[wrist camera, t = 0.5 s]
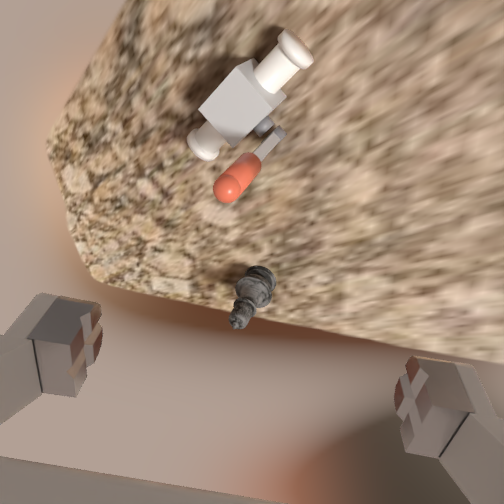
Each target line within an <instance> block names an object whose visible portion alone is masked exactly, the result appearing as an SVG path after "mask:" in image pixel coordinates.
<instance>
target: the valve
mask: <svg viewBox="0 0 504 504" xmlns="http://www.w3.org/2000/svg"><path fill="white" fill-rule="evenodd" d="M278 42H279V43H278V44H277V45H276V46H275V47H274V48H273V50H272V51H271V52H270V53H269V54H268V55H267V56H266V57H265V58H264V59H263V60H262V61H261V63H260V64H259V63H258V62H257V61H256V60H255V58H252V59H250V60H248V61H246V62H244V63H242V64H240V65H238V66H236V67H235V68H234V69H233V70H232V72H231V73H230V74H229V75H228V76H227V77H226V78H225V79H224V81H223V82H222V83H221V84H220V85H219V86H218V87H217V88H216V90H215V91H214V92H213V93H212V94H211V95H210V96H209V98H208V99H207V100H206V101H205V102H204V103H203V104H202V105H201V107H200V108H199V109H198V110H199V111H200V112H201V113H202V114H203V116H204V117H205V118H206V119H207V121H206V122H205V123H204V124H203V125H202V126H201V127H200V128H195V129H193V130H192V131H191V132H190V133H189V134H188V136H187V143H188V146H189V147H190V149H191V150H192V152H193V153H194V154H195V155H196V156H197V157H199V158H200V159H202V160H204V161H208V162H210V161H213V160H214V159H215V158H216V157H217V156H218V155H219V149H220V148H221V147H222V146H223V145H224V144H225V143H226V142H228V143H229V144H230V146H231V147H232V148H233V147H234V146H236V145H237V144H238V143H239V142H240V141H241V140H242V139H243V138H244V137H246V136H247V135H248V134H249V133H250V132H251V131H252V130H254V131H255V132H256V133H257V135H258V136H259V137H261V136H262V135H263V134H264V133H265V132H266V131H267V130H268V129H270V128H271V127H272V126H273V125H274V124H275V123H274V122H273V121H272V120H271V119H270V118H269V116H268V115H269V114H270V113H271V112H272V111H273V110H274V109H275V108H276V107H277V106H278V105H279V104H280V103H281V102H282V101H283V100H284V99H285V98H286V97H287V96H286V95H285V94H284V93H283V91H282V90H281V89H280V88H281V87H282V86H283V85H284V84H285V83H286V82H287V81H288V80H289V79H290V78H291V77H292V76H293V75H294V74H295V73H296V72H297V71H298V70H299V69H300V68H301V69H304V70H305V69H307V68H308V67H309V66H310V65H311V64H312V63H313V57H312V54H311V53H310V51H309V49H308V48H307V46H306V45H305V44H304V42H303V41H302V40H301V39H300V38H299V37H298V36H297V35H296V34H295V33H294V32H292V31H291V30H289V29H284V30H283V31H282V33H281V34H280V35H279V36H278Z"/></svg>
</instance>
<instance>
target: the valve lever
mask: <svg viewBox="0 0 504 504" xmlns="http://www.w3.org/2000/svg"><path fill="white" fill-rule="evenodd" d="M286 135H287V133H286V132H285V131H284V130H283V129H282V128H281V127H280V125H279V126H278V127H277V128H276V129H275V130H273V131H272V132H271V133H270V134H269V135H268V136H267V137H266V138H265V139H264V140H263V141H262V142H261V144H260V145H259V146H258V147H257V149H256V150H255V151H254V152H253V153H249V152H248V153H244V154H242V155H241V156H240V157H239V158H238V159H237V160H236V161H235V162H234V163H233V164H232V165H231V166H230V167H229V168H228V169H227V170H226V171H225V172H224V173H223V174H222V175H221V176H220V177H219V178H218V179H217V180H216V181H215V183H214V185H213V192H214V195H215V197H216V198H217V199H218V200H219V201H221V202H224V203H230V202H233V201H235V200H236V199H237V198H238V197H239V196H240V195H241V193H242V192H243V191H244V190H245V189H246V187H247V186H248V185H249V184H250V183H251V181H252V180H253V179H254V178H255V177H256V176H257V174H258V173H259V172H260V170H261V161H262V160H263V159H264V158H265V157H266V156H267V154H268V153H269V152H270V151H271V150H272V149H273V148H274V146H275V145H277V144H278V143H279V142H280V141H281V140H282V139H283V138H284V137H285V136H286Z"/></svg>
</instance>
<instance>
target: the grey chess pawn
mask: <svg viewBox="0 0 504 504" xmlns="http://www.w3.org/2000/svg"><path fill="white" fill-rule="evenodd" d="M275 286H276V278H275V276H274V274H273V273H272V272H271V271H270V270H268V269H267V268H265V267H262V266H253V267H250V268H249V269H248V270H247V271H246V273H245V277H243V278H241V279H240V280H239V281H238V282H237V284H236V287H235V291H236V294H237V296H238V299H236V300H235V302H234V309H233V310H232V312H231V314H230V316H229V322H230V324H231V326H232V327H233V329H243V328H245V327H246V326H247V324H248V322H249V320H250V318H251V317H253V316H254V315H255V314H256V308H261V307H265V306H267V305H268V304H269V303H270V301H271V298H272V294H271V291H273V289H274V288H275Z"/></svg>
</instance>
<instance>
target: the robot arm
mask: <svg viewBox="0 0 504 504" xmlns="http://www.w3.org/2000/svg"><path fill="white" fill-rule="evenodd" d="M101 315H102V313H101V305H100V304H99V303H96V302H91V301H85V300H80V299H75V298H70V297H65V296H57V295H52V294H46V293H40V294H38V295H36V296H35V297H34V299H33V300H32V301H31V302H30V304H29V305H28V306H27V307H26V308H25V310H24V311H23V312H22V313H21V314H20V316H19V317H18V318H17V319H16V321H15V322H14V323H13V324H12V326H11V327H10V328H9V329H8V330H7V331H6V333H5V334H4V335H0V425H1V424H2V423H3V422H5V421H6V420H8V419H9V418H10V417H12V416H13V415H15V414H16V413H17V412H19V411H20V410H21V409H23V408H24V407H25V406H27V405H28V404H30V403H31V402H32V401H34V400H35V399H36V398H38V397H39V396H41V395H42V393H48V394H54V395H62V396H69V397H76V396H77V395H78V393H79V391H80V389H81V387H82V385H83V383H84V381H85V380H86V378H87V369H86V368H87V367H88V366H90V365H92V364H93V363H94V362H95V360H96V358H97V356H98V354H99V351H100V347H101V344H102V337H103V329H102V327H101V325H100V324H99V323H98V321H99V319H100V317H101ZM405 367H406V370H407V373H406V374H404V375H403V376H401V377H399V379H398V382H397V384H396V387H395V393H394V404H395V409H396V413H397V415H398V416H399V417H400V418H401V419H402V420H403V421H404V422H403V423H402V425H401V428H400V431H401V435H402V439H403V444H404V448H405V452H407V453H412V454H418V455H423V456H428V457H433V458H439V461H440V463H441V464H442V465H443V467H444V468H445V469H446V471H447V472H448V473H449V475H450V476H451V477H452V479H453V480H454V481H455V483H456V484H457V485H458V486H459V488H460V489H461V491H462V492H463V493H464V495H465V496H466V497H467V499H468V500H469V501H470V502H471V504H504V419H503V418H498V417H497V415H496V413H495V411H494V409H493V406H492V405H491V402H490V400H489V398H488V396H487V394H486V392H485V389H484V387H483V385H482V383H481V381H480V379H479V377H478V374H477V372H476V370H475V369H474V367H473V366H472V365H471V364H465V363H458V362H449V361H444V360H437V359H432V358H425V357H419V356H411V357H410V358H409V359H408V361H407V363H406V365H405ZM0 504H286V503H280V502H274V501H268V500H262V499H256V498H250V497H244V496H238V495H232V494H226V493H219V492H214V491H207V490H201V489H196V488H189V487H184V486H177V485H171V484H165V483H159V482H153V481H147V480H141V479H135V478H129V477H123V476H117V475H111V474H105V473H99V472H92V471H87V470H81V469H75V468H68V467H62V466H56V465H50V464H44V463H38V462H32V461H26V460H20V459H14V458H8V457H2V456H0Z"/></svg>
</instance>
